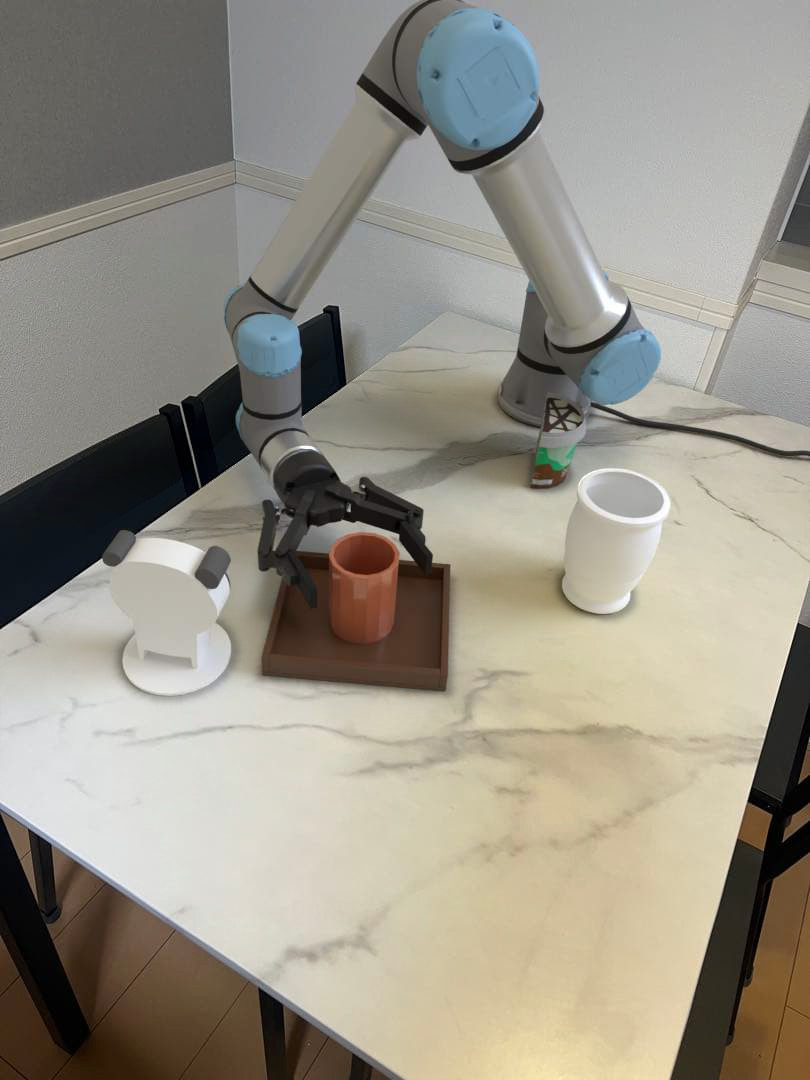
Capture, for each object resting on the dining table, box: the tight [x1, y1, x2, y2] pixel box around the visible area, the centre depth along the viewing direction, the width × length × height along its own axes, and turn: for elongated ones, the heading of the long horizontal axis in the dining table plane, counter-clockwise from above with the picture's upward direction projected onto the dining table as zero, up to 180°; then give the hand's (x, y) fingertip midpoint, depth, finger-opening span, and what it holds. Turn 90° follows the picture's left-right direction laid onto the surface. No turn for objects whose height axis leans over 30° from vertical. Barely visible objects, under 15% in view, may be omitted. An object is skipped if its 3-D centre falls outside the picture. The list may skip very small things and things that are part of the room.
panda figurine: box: [101, 529, 232, 697], centre depth 82 cm, size 12×11×15 cm
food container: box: [530, 392, 587, 490], centre depth 115 cm, size 12×6×10 cm, turn 168°
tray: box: [260, 550, 451, 692], centre depth 91 cm, size 20×18×3 cm
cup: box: [328, 531, 400, 644], centre depth 88 cm, size 7×7×10 cm
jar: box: [561, 467, 672, 615], centre depth 94 cm, size 11×10×15 cm
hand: (373, 581), depth 85 cm, fingers open, 13 cm apart
